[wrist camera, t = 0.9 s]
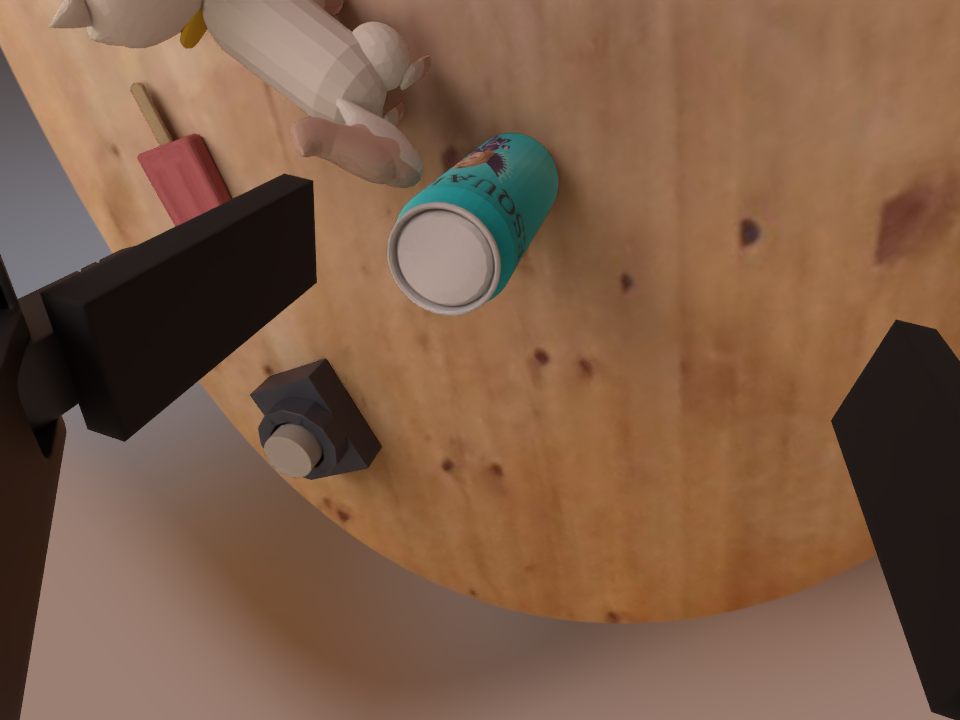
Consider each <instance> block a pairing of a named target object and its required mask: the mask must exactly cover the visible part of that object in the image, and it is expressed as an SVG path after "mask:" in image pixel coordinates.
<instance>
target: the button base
mask: <svg viewBox="0 0 960 720" xmlns="http://www.w3.org/2000/svg"><path fill="white" fill-rule="evenodd" d="M250 396H251V397H252V399H253V400H254V401H255V403H256V404H257V406H258V407H259V408H260V410H261V411H262V413H263V414H264V415H265V416H264V418H263V420H262V422H261V423H260V425H259V427H258V430H259V436H260V441H261V445H262V447H263V448H264V446H265V443H266V441H267V440H268V439H269V438H270V437H271V436H272V435H273V433H274V432H275V431H276V430H277V429H278V428H279V427H280V426H281V425H283V424H286V423H292V424H296V425H300V426H302V427H304V428H305V429H306V430H308V431H309V432H311V433H312V434H314V435H315V437H316V438H317V440H318V441H319V443H320V444H321V446H322V449H323V453H322V457H321V459H320V460H319V461H318V463H317V464H316V465H315V466H314V468H313V469H312V470H311V472H310V473H309V474H308V475H307V476H304V477H303V478H307V479H310V480H312V479H318V478H323V477H327V476H332V475H337V474H342V473H347V472H352V471H357V470H362V469H367V468H368V467H369V466H370V464H371V463H372V461H373V460H374V458H375V457H376V455H377V454H378V452H379V451H380V449H381V445H380V444H379V442H378V441H377V439H376V437H375V436H374V434H373V433H372V431H371V429H370V428H369V426H368V425H367V423H366V422H365V420H364V418H363V417H362V415H361V414H360V412H359V411H358V409H357V407H356V406H355V404H354V403H353V401H352V399H351V398H350V396H349V395H348V393H347V392H346V390H345V388H344V387H343V385H342V384H341V382H340V380H339V379H338V377H337V376H336V374H335V373H334V371H333V369H332V368H331V366H330V365H329V363H328V361H327V360H326V359H323V360H320V361H317V362H314V363H311V364H308V365H304V366H301V367H298V368H295V369H292V370H289V371H286V372H283V373H279V374H276V375H273V376H270V377H268V378H267V379H266V380H265V381H264V382H263V383H262V384H261V385H260V386H259V387H258V388H257V389H256V390H255V391H253V392H252V393H251V394H250Z"/></svg>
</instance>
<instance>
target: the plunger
mask: <svg viewBox="0 0 960 720" xmlns="http://www.w3.org/2000/svg"><path fill="white" fill-rule="evenodd" d="M264 452H265V456H266V458H267V460H268V461H269V462H270V464H271V465H272V466H273V467H274V468H275V469H276V470H278V471H279V472H281V473H283V474H284V475H287V476H290V477H294V478H301V477H304V476H307V475H308V474H309V473H310V472H311V470H312V469H313V468H314V466H315V465H316V464H317V463H318V461H319V460H320V459H321V457H322V453H323V449H322V446H321V444H320V443H319V441H318V440H317V438H316V437H315V435H314V434H312V433H311V432H309V431H308V430H306V429H305V428H304V427H302V426H300V425H296V424H292V423H286V424H283V425H281V426H280V427H279V428H278V429H277V430H276V431H275V432H274V433H273V435H272V436H271V437H270V438H269V439H268V440H267V441H266V443H265V446H264Z"/></svg>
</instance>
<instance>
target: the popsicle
mask: <svg viewBox="0 0 960 720" xmlns="http://www.w3.org/2000/svg"><path fill="white" fill-rule="evenodd" d="M131 92H132V94H133V96H134V98H135V100H136V102H137V104H138V106H139V107H140V109H141V111H142V113H143V115H144V117H145V119H146V121H147V122H148V124H149V126H150V128H151V130H152V132H153V134H154V136H155V137H156V139H157V141H158V143H159V145H160V146H159V147H157V148H154V149H151V150H149V151H146V152H144V153H141V154H139V156H138V157H137V158H138V161H139V163H140V164H141V166H142V168H143V170H144V171H145V173H146V175H147V177H148V179H149V180H150V182H151V184H152V186H153V187H154V189H155V191H156V193H157V195H158V196H159V198H160V200H161V202H162V204H163V205H164V207H165V209H166V211H167V212H168V214H169V216H170V217H171V219H172V221H173V223H174V224H175V226H178V225H180V224H182V223H184V222H186V221H188V220H190V219H192V218H194V217H197V216H199V215H201V214H203V213H205V212H207V211H209V210H211V209H213V208H215V207H217V206H219V205H221V204H223V203H225V202H227V201H229V200H231V197H230V195H229V193H228V191H227V189H226V187H225V185H224V183H223V181H222V179H221V177H220V175H219V173H218V171H217V169H216V167H215V165H214V163H213V161H212V159H211V156H210V154H209V152H208V150H207V148H206V146H205V144H204V142H203V140H202V138H201V137H200V135H197V134H193V135H189V136H186V137H183V138H181V139H178V140H175V141H173V140H172V138H171V136H170V134H169V133H168V131H167V129H166V127H165V125H164V123H163V121H162V119H161V117H160V115H159V113H158V111H157V109H156V108H155V106H154V104H153V102H152V100H151V98H150V96H149V94H148V92H147V90H146V88H145V86H144V85H142V84H141V83H133V84H132V85H131Z"/></svg>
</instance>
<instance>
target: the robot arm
mask: <svg viewBox="0 0 960 720" xmlns="http://www.w3.org/2000/svg"><path fill="white" fill-rule="evenodd" d="M315 283H317V276H316V248H315V221H314V193H313V180H308V179H304V178H300V177H296V176H292V175H287V174H283V175H281V176H279V177H277V178H275V179H273V180H270V181H268V182H266V183H264V184H262V185H260V186H258V187H256V188H254V189H252V190H250V191H248V192H246V193H244V194H242V195H240V196H238V197H236V198H233V199H231V200H229V201H227V202H225V203H223V204H221V205H219V206H217V207H215V208H213V209H211V210H209V211H207V212H205V213H203V214H201V215H199V216H197V217H194V218H192V219H190V220H188V221H186V222H184V223H182V224H180V225H178V226H176V227H174V228H172V229H170V230H168V231H166V232H164V233H162V234H160V235H157V236H155V237H153V238H151V239H149V240H147V241H145V242H143V243H141V244H139V245H137V246H133V247H129V248H125V249H121V250H119V251H117V252H115V253H113V254H111V255H109V256H107V257H105V258H103V259H101V260H100V262H99V263H96V262H95V263H92V264H90V265H88V266H86V267H84V268H82V269H81V272H78V271H76V272H74V273H72V274H69V275H67V276H65V277H64V278H61V279H59V280H57V281H55V282H53V283H51V284H49V285H47V286H44V287H42V288H40V289H38V290H36V291H34V292H32V293H30V294H28V295H26V296H24V297H22V298H19V299H17V297H16V294H15V291H14V289H13V286H12V283H11V281H10V279H9V276H8V273H7V270H6V268H5V265H4V262H3V260H2V258H1V255H0V720H20V713H21V707H22V702H23V695H24V689H25V683H26V677H27V671H28V664H29V659H30V653H31V646H32V640H33V634H34V628H35V622H36V615H37V609H38V603H39V597H40V590H41V585H42V579H43V573H44V566H45V560H46V554H47V548H48V542H49V536H50V530H51V524H52V518H53V511H54V505H55V499H56V493H57V487H58V480H59V475H60V468H61V462H62V456H63V450H64V444H65V438H66V427H65V423H64V420H63V418H62V414H64V413H65V412H67V411H68V410H70V409H71V408H72V407H74V406H75V405H77V404H78V403H79V406H80V409H81V412H82V414H83V417H84V420H85V423H86V426H87V429H89V430H91V431H94V432H97V433H101V434H103V435H106V436H109V437H112V438H116V439H119V440H121V441H124V442H125V441H126V440H128V439H129V438H130V437H131V436H132V435H134V434H135V433H136V432H137V431H138V430H140V429H141V428H142V427H143V426H144V425H145V424H147V423H148V422H149V421H150V420H152V419H153V418H154V417H155V416H156V415H157V414H159V413H160V412H161V411H162V410H164V409H165V408H166V407H167V406H168V405H170V404H171V403H172V402H173V401H174V400H175V399H177V398H178V397H179V396H181V395H182V394H183V393H184V392H185V391H187V390H188V389H189V388H190V387H191V386H193V385H194V384H195V383H196V382H197V381H199V380H200V379H201V378H202V377H203V376H205V375H206V374H207V373H208V372H209V371H211V370H212V369H213V368H214V367H215V366H217V365H218V364H219V363H220V362H221V361H223V360H224V359H225V358H226V357H228V356H229V355H230V354H231V353H232V352H234V351H235V350H236V349H237V348H238V347H240V346H241V345H242V344H243V343H244V342H246V341H247V340H248V339H249V338H250V337H252V336H253V335H254V334H255V333H256V332H258V331H259V330H260V329H261V328H262V327H264V326H265V325H266V324H267V323H268V322H270V321H271V320H272V319H273V318H275V317H276V316H277V315H278V314H279V313H281V312H282V311H283V310H284V309H285V308H287V307H288V306H289V305H290V304H291V303H293V302H294V301H295V300H296V299H297V298H299V297H300V296H301V295H302V294H303V293H305V292H306V291H307V290H308V289H309V288H311V287H312V286H313V285H314V284H315ZM831 422H832V425H833V428H834V431H835V434H836V436H837V439H838V442H839V445H840V448H841V451H842V454H843V457H844V460H845V463H846V465H847V468H848V471H849V474H850V477H851V480H852V483H853V486H854V489H855V492H856V494H857V497H858V500H859V503H860V506H861V509H862V512H863V515H864V518H865V521H866V524H867V526H868V529H869V532H870V535H871V538H872V541H873V544H874V547H875V550H876V553H877V555H878V558H879V561H880V564H881V567H882V570H883V573H884V576H885V579H886V581H887V584H888V587H889V590H890V593H891V596H892V599H893V601H894V605H895V608H896V610H897V613H898V616H899V619H900V622H901V625H902V628H903V631H904V634H905V636H906V639H907V642H908V645H909V648H910V651H911V654H912V657H913V660H914V663H915V665H916V669H917V671H918V674H919V677H920V680H921V683H922V686H923V689H924V692H925V695H926V697H927V701H928V703H929V706H930V709H931V712H933V713H936V714H939V715H942V716H945V717H948V718H951V719H954V720H960V361H959V360H958V358H957V357H956V355H955V354H954V353H953V351H952V350H951V349H950V347H949V346H948V345H947V343H946V342H945V341H944V339H943V338H942V337H941V335H940V334H939V332H938V331H937V330H936V329H933V328H929V327H924V326H920V325H916V324H912V323H908V322H903V321H899V320H895V322H894V323H893V325H892V327H891V328H890V330H889V331H888V333H887V334H886V336H885V337H884V339H883V341H882V342H881V344H880V345H879V347H878V348H877V350H876V351H875V353H874V355H873V356H872V358H871V359H870V361H869V362H868V364H867V365H866V367H865V369H864V370H863V372H862V373H861V375H860V376H859V378H858V379H857V381H856V383H855V384H854V386H853V387H852V389H851V390H850V392H849V393H848V395H847V397H846V398H845V400H844V401H843V403H842V404H841V406H840V407H839V409H838V411H837V412H836V414H835V415H834V417H833V418H832V420H831Z"/></svg>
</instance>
